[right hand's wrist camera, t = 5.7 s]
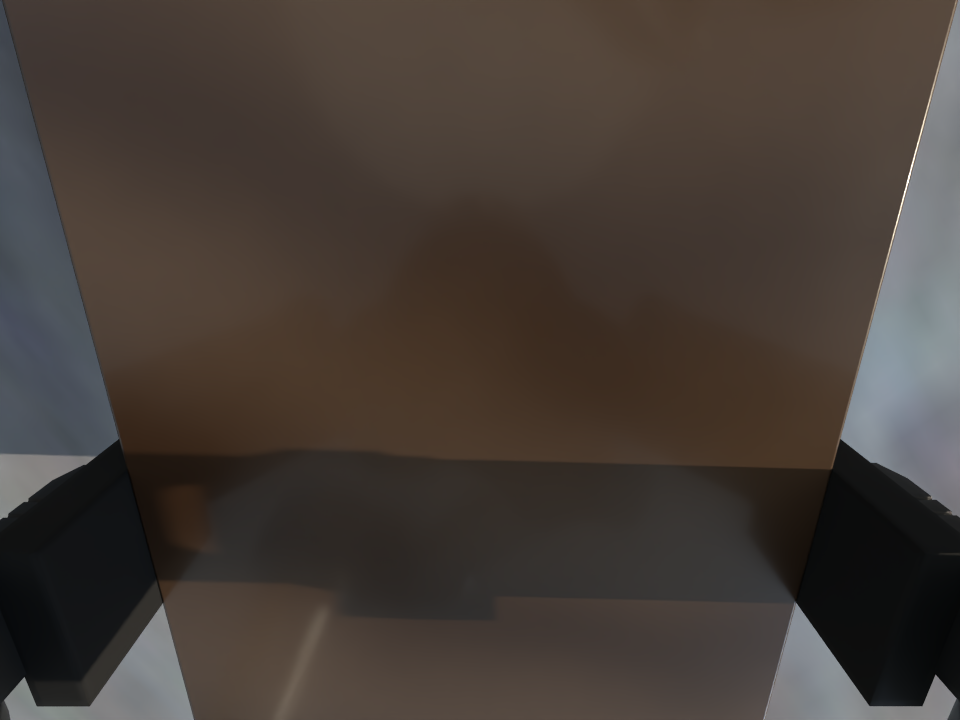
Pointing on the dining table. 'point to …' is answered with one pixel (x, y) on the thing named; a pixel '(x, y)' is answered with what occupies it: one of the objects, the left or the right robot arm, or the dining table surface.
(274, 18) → the cabinet
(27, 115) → the dining table surface
